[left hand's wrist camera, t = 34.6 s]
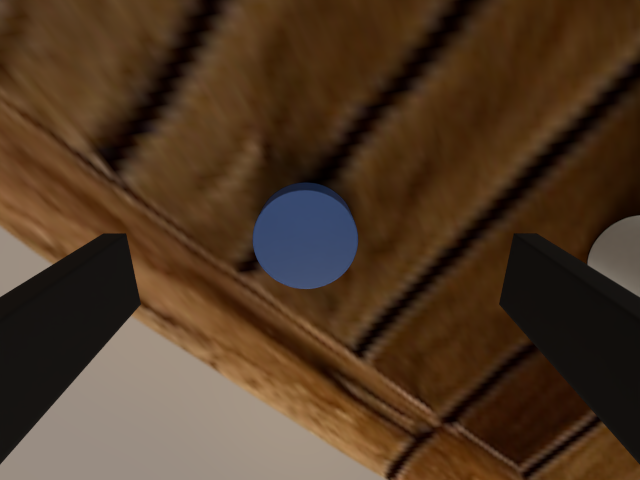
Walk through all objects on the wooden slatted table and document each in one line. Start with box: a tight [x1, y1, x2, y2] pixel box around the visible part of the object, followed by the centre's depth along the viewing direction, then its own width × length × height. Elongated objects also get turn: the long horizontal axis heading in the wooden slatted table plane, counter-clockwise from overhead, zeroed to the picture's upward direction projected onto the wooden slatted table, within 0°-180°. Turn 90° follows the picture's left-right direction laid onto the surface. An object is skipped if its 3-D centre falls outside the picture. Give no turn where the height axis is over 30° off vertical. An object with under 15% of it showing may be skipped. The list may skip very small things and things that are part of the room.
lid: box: [253, 183, 358, 289], centre depth 19 cm, size 5×5×2 cm
